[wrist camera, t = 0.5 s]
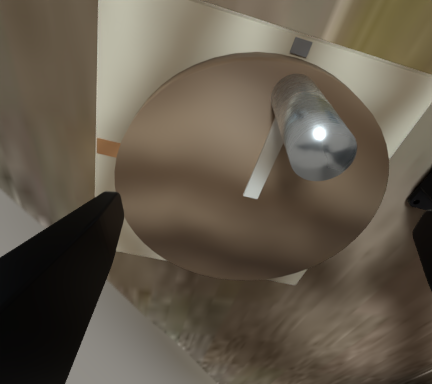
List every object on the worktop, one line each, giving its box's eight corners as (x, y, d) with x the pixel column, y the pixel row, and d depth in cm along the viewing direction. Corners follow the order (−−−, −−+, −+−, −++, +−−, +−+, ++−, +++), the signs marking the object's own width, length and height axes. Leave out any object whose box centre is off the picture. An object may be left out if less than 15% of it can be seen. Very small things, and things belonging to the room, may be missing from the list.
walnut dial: (304, 277, 28) (327, 367, 22) (115, 239, 26) (79, 329, 19) (438, 101, 18) (557, 178, 11) (135, 7, 15) (69, 39, 9)
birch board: (432, 75, 18) (447, 83, 17) (292, 273, 31) (295, 286, 30) (108, -30, 16) (98, -29, 14) (99, 234, 28) (93, 247, 27)
